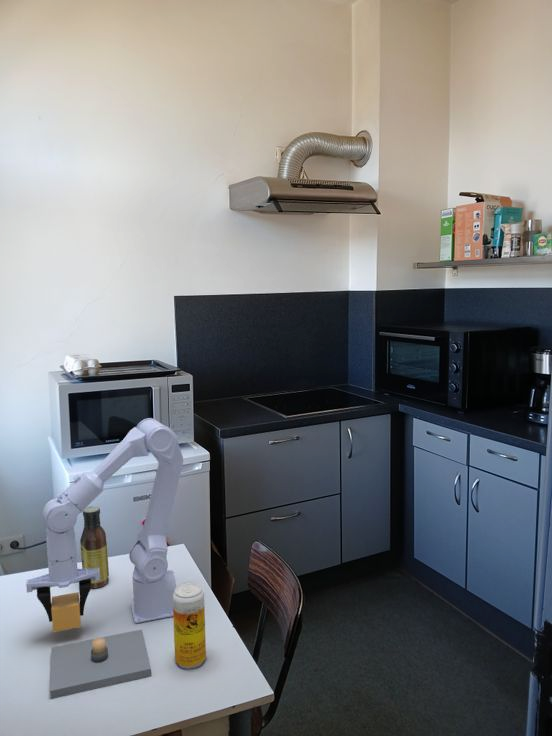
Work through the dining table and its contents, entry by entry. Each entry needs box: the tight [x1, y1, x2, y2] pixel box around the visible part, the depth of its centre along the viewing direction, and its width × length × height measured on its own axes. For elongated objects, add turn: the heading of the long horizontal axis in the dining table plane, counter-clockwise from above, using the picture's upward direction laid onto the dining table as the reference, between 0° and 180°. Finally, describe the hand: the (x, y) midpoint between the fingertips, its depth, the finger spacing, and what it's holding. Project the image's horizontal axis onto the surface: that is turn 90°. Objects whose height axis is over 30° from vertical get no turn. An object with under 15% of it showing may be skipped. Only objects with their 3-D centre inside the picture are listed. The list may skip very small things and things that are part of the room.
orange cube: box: [51, 591, 82, 633], centre depth 127 cm, size 6×6×5 cm
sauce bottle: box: [79, 505, 110, 589], centre depth 148 cm, size 6×6×20 cm
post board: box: [49, 629, 152, 699], centre depth 117 cm, size 18×14×5 cm
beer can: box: [172, 582, 207, 670], centre depth 117 cm, size 6×6×15 cm
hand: (66, 616), depth 127 cm, fingers closed on orange cube, 5 cm apart
